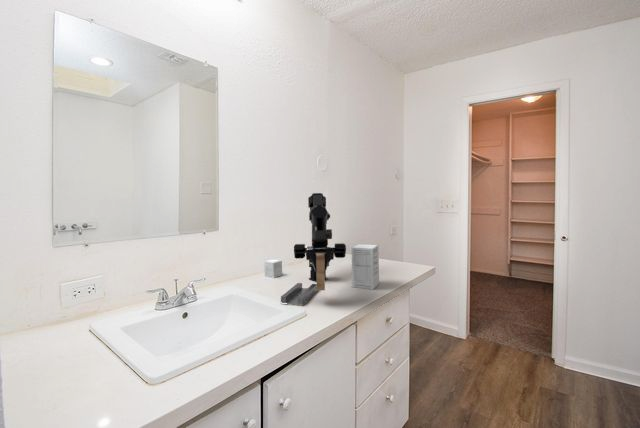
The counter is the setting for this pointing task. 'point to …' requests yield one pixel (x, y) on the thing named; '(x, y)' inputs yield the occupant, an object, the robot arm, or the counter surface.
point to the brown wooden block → (320, 271)
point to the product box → (273, 268)
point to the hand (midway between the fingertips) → (320, 270)
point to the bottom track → (298, 294)
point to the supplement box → (365, 266)
